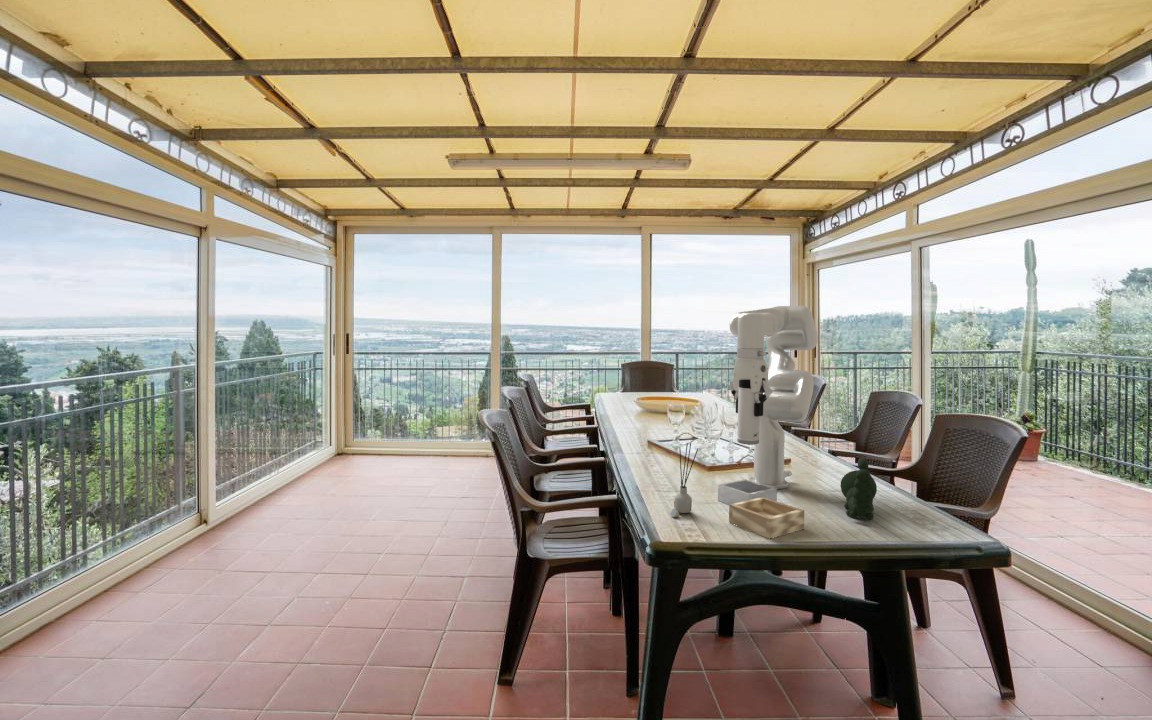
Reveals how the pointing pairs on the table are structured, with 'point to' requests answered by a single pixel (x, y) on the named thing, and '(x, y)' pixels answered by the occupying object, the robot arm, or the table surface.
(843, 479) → the toy figurine
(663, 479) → the table surface
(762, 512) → the light wooden tray
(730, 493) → the open box
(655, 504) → the table surface
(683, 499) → the reed diffuser
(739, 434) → the travel mug
